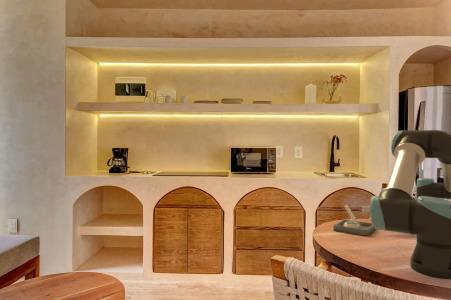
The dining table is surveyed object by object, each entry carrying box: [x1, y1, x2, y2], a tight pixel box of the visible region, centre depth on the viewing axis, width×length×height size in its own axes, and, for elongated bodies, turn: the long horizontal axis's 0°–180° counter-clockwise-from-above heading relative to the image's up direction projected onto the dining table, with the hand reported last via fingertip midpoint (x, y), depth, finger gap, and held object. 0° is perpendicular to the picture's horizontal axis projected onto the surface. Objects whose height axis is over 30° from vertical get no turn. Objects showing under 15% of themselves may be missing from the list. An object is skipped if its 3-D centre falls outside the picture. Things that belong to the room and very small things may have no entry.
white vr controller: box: [344, 204, 360, 228], centre depth 166 cm, size 8×12×7 cm
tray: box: [333, 219, 376, 237], centre depth 162 cm, size 15×15×2 cm
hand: (371, 212), depth 164 cm, fingers open, 13 cm apart
